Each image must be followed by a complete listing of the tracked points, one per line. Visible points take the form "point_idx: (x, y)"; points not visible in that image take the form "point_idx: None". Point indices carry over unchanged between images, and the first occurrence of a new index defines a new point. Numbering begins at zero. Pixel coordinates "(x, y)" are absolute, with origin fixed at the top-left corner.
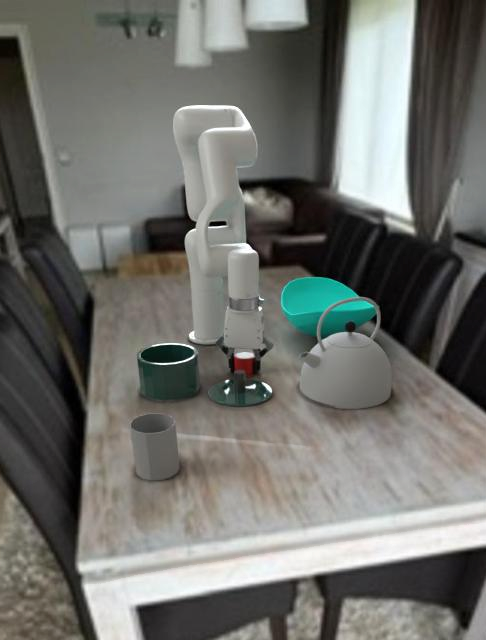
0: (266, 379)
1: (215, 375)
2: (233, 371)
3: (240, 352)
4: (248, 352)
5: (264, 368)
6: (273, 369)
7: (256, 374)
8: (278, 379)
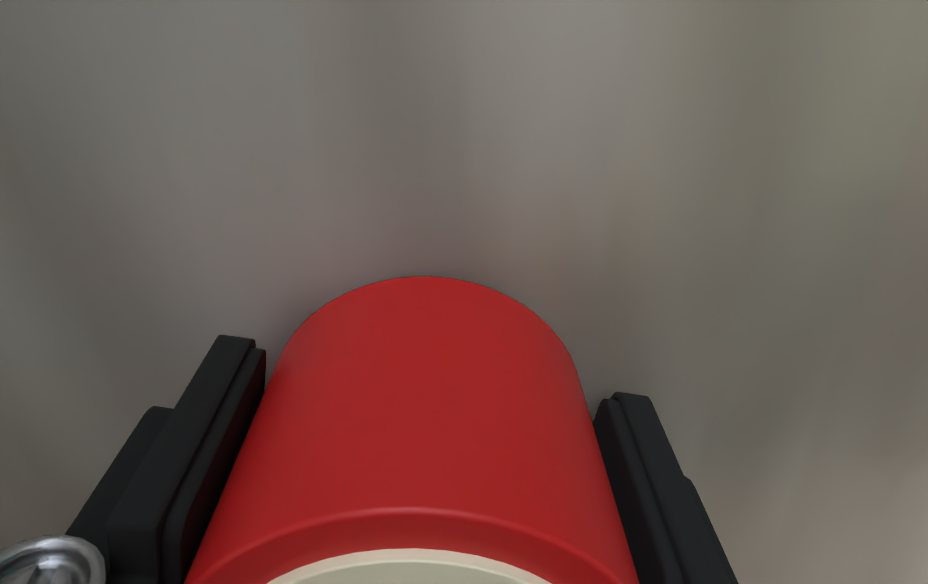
0: None
1: (18, 464)
2: None
3: (283, 541)
4: (505, 573)
5: (759, 204)
6: (901, 245)
7: None
8: (856, 548)
